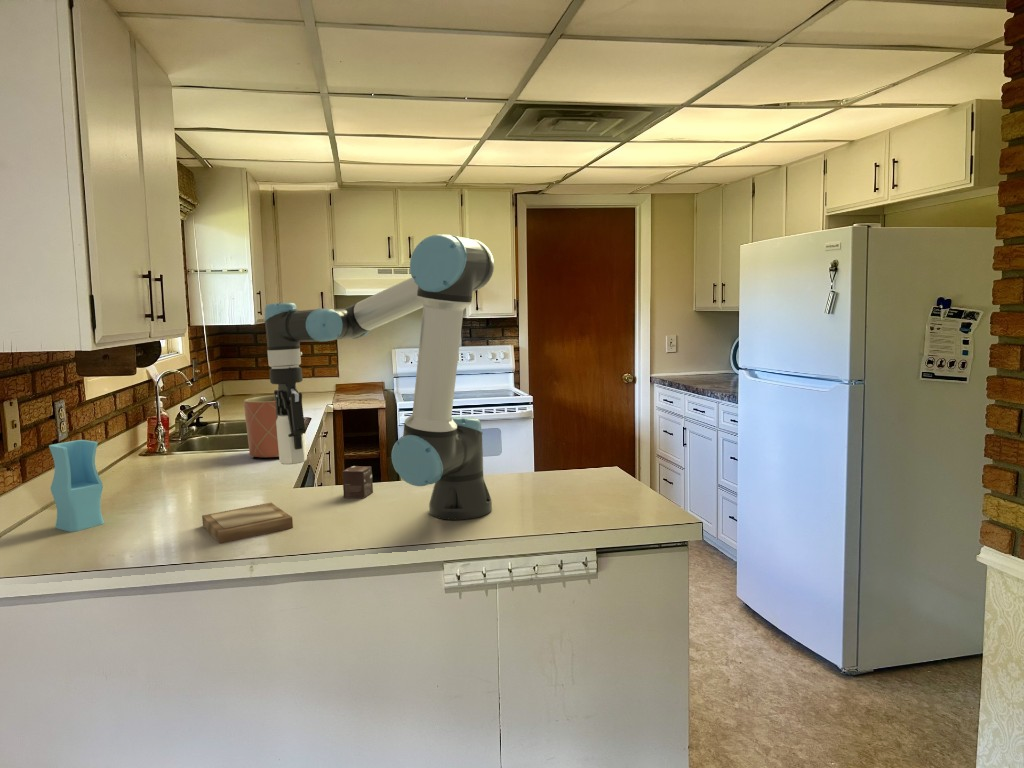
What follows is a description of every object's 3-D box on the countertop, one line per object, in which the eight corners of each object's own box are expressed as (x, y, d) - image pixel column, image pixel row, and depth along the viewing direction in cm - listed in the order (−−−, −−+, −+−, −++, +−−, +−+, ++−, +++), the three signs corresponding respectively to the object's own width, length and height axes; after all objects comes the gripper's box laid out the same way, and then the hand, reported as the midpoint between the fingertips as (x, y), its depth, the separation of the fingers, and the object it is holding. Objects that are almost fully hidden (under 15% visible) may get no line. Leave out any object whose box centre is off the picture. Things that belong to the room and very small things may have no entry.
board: (293, 527, 159) (292, 516, 159) (219, 543, 150) (218, 531, 150) (271, 512, 172) (270, 501, 172) (202, 525, 163) (202, 514, 162)
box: (364, 498, 182) (362, 471, 181) (343, 498, 183) (341, 471, 182) (373, 492, 188) (372, 466, 187) (352, 492, 189) (351, 465, 188)
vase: (71, 532, 161) (62, 448, 159) (55, 527, 165) (45, 445, 163) (106, 523, 168) (98, 441, 165) (89, 518, 172) (81, 439, 169)
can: (312, 459, 172) (308, 412, 171) (294, 465, 167) (290, 416, 165) (292, 458, 175) (288, 411, 174) (273, 464, 169) (269, 415, 168)
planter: (236, 460, 234) (232, 402, 232) (265, 449, 253) (261, 394, 250) (289, 461, 231) (285, 401, 229) (314, 449, 250) (311, 394, 247)
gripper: (314, 366, 163) (322, 463, 165) (287, 364, 178) (295, 452, 181) (282, 369, 158) (291, 468, 161) (258, 366, 174) (266, 456, 176)
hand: (293, 459), depth 171 cm, fingers closed on can, 6 cm apart
